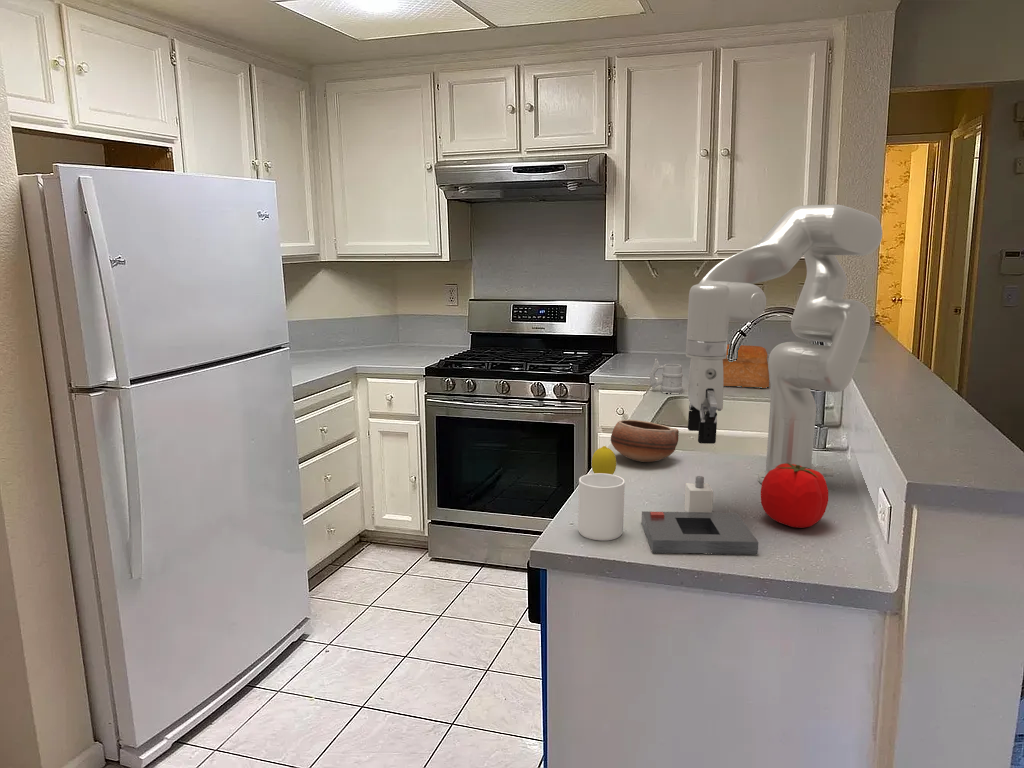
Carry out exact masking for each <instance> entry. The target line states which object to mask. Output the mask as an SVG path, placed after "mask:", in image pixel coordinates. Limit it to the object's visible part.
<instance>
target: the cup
mask: <svg viewBox="0 0 1024 768" xmlns="http://www.w3.org/2000/svg"><path fill="white" fill-rule="evenodd" d="M625 484H626V483H625V479H624V478H623V477H621V476H619V475H615V474H613V475H612V474H603V473H595V474H594V473H588V474H584V475H582V476H580V477H578V506H577V507H578V510H577V513H578V515H577V517H578V518H577V519H578V520H577V529H578V532H579V534H580V535H581V536H582V537H583V538H586V539H588V540H589V539H590V540H593V541H594V540H595V541H603V542H604V541H612V540H616V539H618V538H620V537H621V535H622V534H623V533H624V512H625V510H624V509H625V487H626V485H625Z"/></svg>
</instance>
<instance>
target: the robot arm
mask: <svg viewBox="0 0 1024 768" xmlns="http://www.w3.org/2000/svg"><path fill="white" fill-rule="evenodd" d="M882 228H883V227H882V224H881V222H880V220H879V219H878V218H877V217H876V216H875V215H873V214H871V213H868V212H865V211H862V210H859V209H857V208H853V207H849V206H846V205H843V204H836V203H835V204H832V203H831V204H808V205H807V204H806V205H797V206H794V207H792V208H790V209H788V210H786V212H785V213H784V214H783V215H782V216H781V218H780V219H778V220H777V221H776V223H775V224H774V225H773V226H772V227H771V228H770V229H769V230H768V232H766V234H765V235H763V236H762V238H761V239H760V240H759V241H758V243H756V244H755V245H752V246H750V247H748V248H745V249H744V250H741V251H740V252H738V253H736V254H733V255H731V256H729V257H728V258H725V259H723V260H722V261H720V262H719V263H717V264H716V265H714V266H713V267H711V269H710V270H709V271H708V272H707V274H706V275H704V276H703V278H702V279H701V280H700V281H699V283H697V284H694V285H692V286H691V287H690V289H689V291H688V293H689V294H688V306H687V307H688V308H687V327H686V328H687V329H686V344H685V345H686V347H685V348H686V349H685V357H686V358H689V359H690V363H689V370H688V371H689V373H688V386H687V387H688V388H687V397H688V398H687V399H688V402H689V405H688V406H689V409H688V414H687V416H688V419H687V430H688V431H690V432H698V435H697V436H698V437H697V442H698V444H705V445H707V444H711V445H713V444H716V443H717V441H716V440H717V425H718V417H717V416H718V412H721V411H722V410H723V409H724V386H723V360H722V359H725V358H726V354H727V344H728V334H729V333H728V332H729V323H730V322H738V323H749V322H752V321H755V320H756V319H758V318H760V317H761V316H762V315H763V313H764V311H765V309H766V306H767V298H766V297H767V296H766V294H765V292H764V291H763V289H762V288H761V287H759V286H758V285H756V284H757V283H758V284H759V283H762V282H763V283H764V282H766V281H767V282H768V281H771V280H774V279H777V278H781V277H783V276H785V275H787V274H788V273H789V272H790V271H791V270H792V269H793V267H795V265H797V263H798V262H799V261H800V259H801V258H802V257H804V258H803V259H804V261H805V267H806V277H805V280H804V284H803V287H802V289H801V291H800V295H799V297H798V300H797V303H796V305H795V308H794V310H793V314H792V317H791V321H790V329H791V331H792V334H793V335H795V336H796V337H797V338H799V339H803V340H807V341H814V342H819V343H820V342H821V343H830V344H831V345H824V344H822V345H821V344H816V343H810V342H809V343H808V342H801V341H786V342H782V343H779V344H777V345H776V346H775V347H773V349H772V350H770V353H769V354H768V358H767V362H768V370H769V388H770V401H769V416H768V418H769V419H768V432H767V446H766V447H767V449H766V461H765V470H763V471H760V472H759V473H758V475H757V480H758V482H759V483H760V484H762V482H763V480H764V478H765V476H766V475H767V473H768V472H769V471H770V470H773V469H775V468H776V467H777V466H778V465H780V464H784V463H786V462H787V463H786V464H788V463H789V464H795V465H800V466H802V467H807V468H805V469H808V468H809V469H812V470H815V471H818V472H820V473H821V474H822V475H823V476H824V478H833V477H834V475H835V470H834V469H833V468H831V467H829V468H824V466H823V465H822V466H821V465H820V466H819V465H818V466H817V465H815V464H814V463H813V451H814V443H815V442H814V438H815V429H816V428H815V427H816V417H817V405H816V401H815V397H814V396H813V393H812V391H811V390H816V391H820V392H828V393H839V392H842V391H845V389H846V388H848V386H849V385H850V383H851V381H852V380H853V376H854V374H855V372H856V370H857V366H858V363H859V361H860V358H861V355H862V352H863V350H864V347H865V344H866V342H867V338H868V335H869V332H870V326H871V315H870V311H869V309H868V307H867V305H865V304H864V303H863V302H861V301H859V300H855V299H849V298H844V295H845V292H846V289H847V284H848V279H847V275H846V272H845V270H844V268H843V266H842V265H841V264H840V262H839V259H838V258H837V256H852V257H853V256H856V257H857V256H861V257H862V256H863V257H865V256H868V255H871V254H873V253H874V252H875V251H877V249H878V248H879V246H880V244H881V242H882V239H883V229H882ZM717 411H718V412H717ZM773 466H775V467H773Z"/></svg>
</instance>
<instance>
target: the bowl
mask: <svg viewBox="0 0 1024 768" xmlns="http://www.w3.org/2000/svg"><path fill="white" fill-rule="evenodd" d="M679 432H680V431H679V429H678V428H673V427H669V426H667V425H664V424H658V423H656V422H651V421H647V420H646V421H645V420H638V419H621V420H618V421H617V423H616V424H615V426H614V427H613V430H612V432H611V435H610V443H611V445H612V446H613V448H614V449H615V450H616V451H617V452H618V453H619V454H621V455H622V456H624V457H626V458H628V459H630V460H633V461H636V462H639V463H640V462H642V463H652V462H657V461H658V462H659V461H660V460H663V459H666V458H668V457H669V456H671V455H672V454H674V452H675V451H676V448H677V447H678V443H679V435H680V434H679Z"/></svg>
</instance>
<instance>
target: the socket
mask: <svg viewBox="0 0 1024 768" xmlns="http://www.w3.org/2000/svg"><path fill="white" fill-rule="evenodd" d="M641 526H642V529H643V532H644V534H645V537H646V540H647V541H648V545H649V547H650V551H651V550H652V551H651V553H652V554H667V553H707V554H706V555H726V554H758V553H759V540H758V539H757V538H756V537H755V535H754V534H753V532H752V531H751V530H750V528H749V527H748V525H747V524H746V523H745V521H744V520H743V518H742V517H741V516H740V514H738V512H713V511H712V512H686V511H641ZM708 553H710V554H708ZM711 553H712V554H711Z"/></svg>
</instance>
